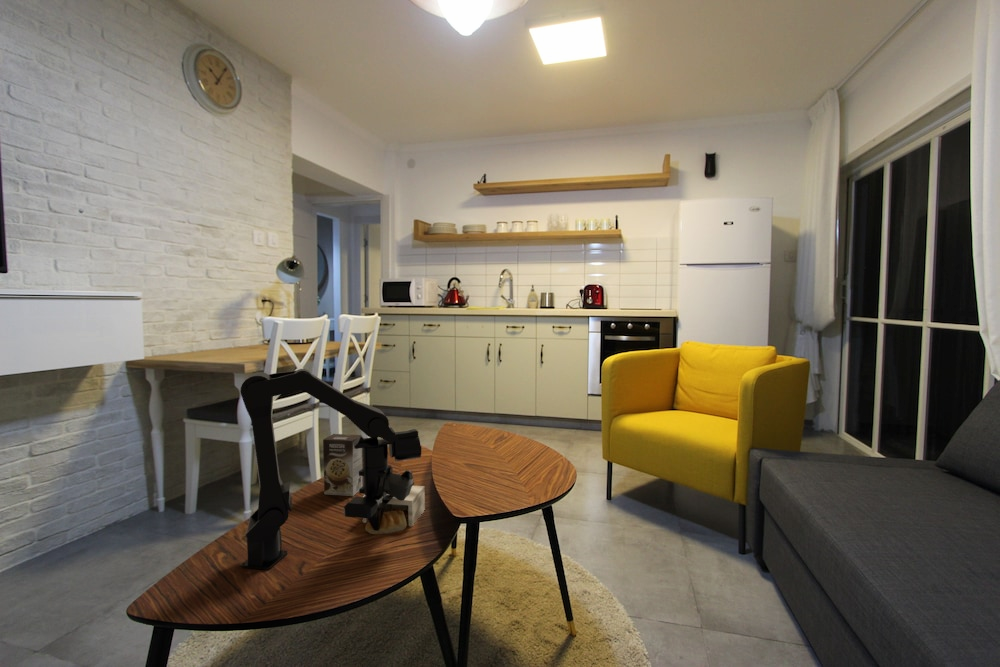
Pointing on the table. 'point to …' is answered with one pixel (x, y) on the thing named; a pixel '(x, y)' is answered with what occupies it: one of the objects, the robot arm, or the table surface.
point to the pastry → (389, 523)
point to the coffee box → (341, 465)
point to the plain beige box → (409, 504)
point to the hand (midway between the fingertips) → (376, 530)
